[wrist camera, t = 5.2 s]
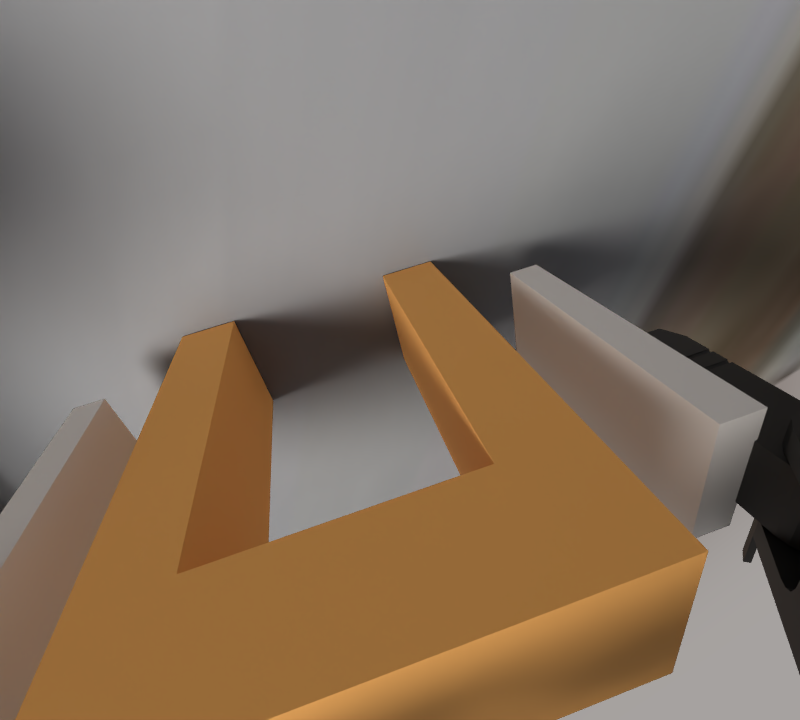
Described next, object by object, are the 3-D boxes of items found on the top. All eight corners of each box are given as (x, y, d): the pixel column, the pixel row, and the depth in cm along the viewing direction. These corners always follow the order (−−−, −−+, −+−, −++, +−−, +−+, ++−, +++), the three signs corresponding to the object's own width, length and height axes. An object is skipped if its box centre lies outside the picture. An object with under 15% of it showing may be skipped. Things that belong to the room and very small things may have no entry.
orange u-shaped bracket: (182, 336, 12) (-37, 836, 4) (430, 261, 13) (707, 550, 4) (227, 414, 14) (143, 886, 5) (446, 344, 14) (671, 672, 6)
